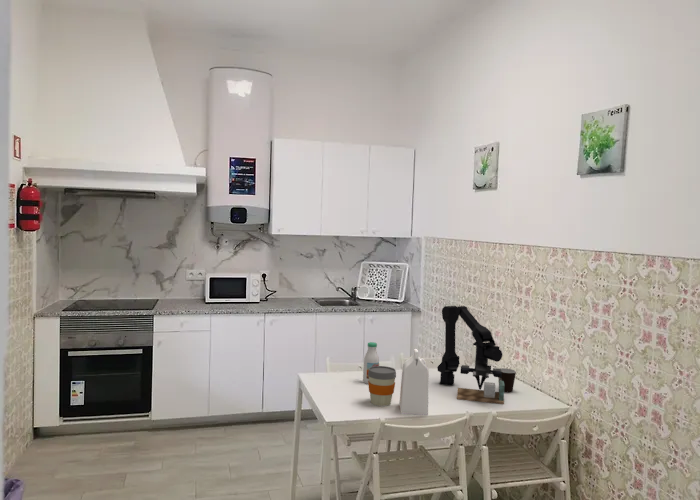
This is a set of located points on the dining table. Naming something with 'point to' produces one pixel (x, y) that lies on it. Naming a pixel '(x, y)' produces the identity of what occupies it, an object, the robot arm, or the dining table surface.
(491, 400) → the rail board
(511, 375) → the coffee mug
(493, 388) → the metal slider block
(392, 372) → the reusable coffee cup
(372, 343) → the milk bottle
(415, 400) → the milk
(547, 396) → the dining table surface
